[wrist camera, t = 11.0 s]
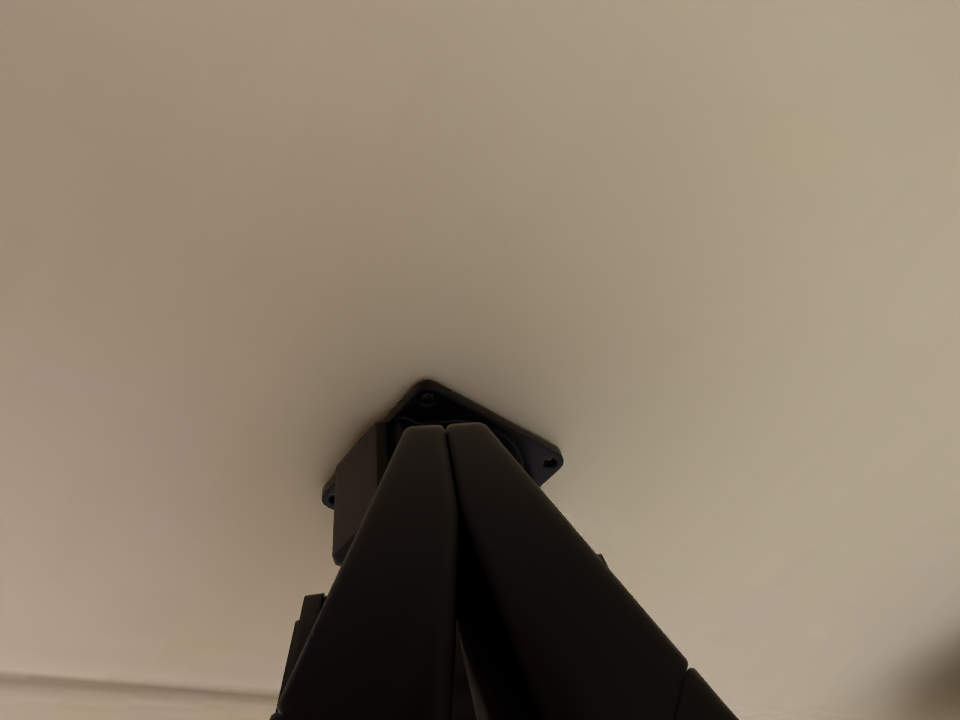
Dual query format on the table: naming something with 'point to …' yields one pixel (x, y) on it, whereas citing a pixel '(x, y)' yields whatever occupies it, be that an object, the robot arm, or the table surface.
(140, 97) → the table surface
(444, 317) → the table surface
